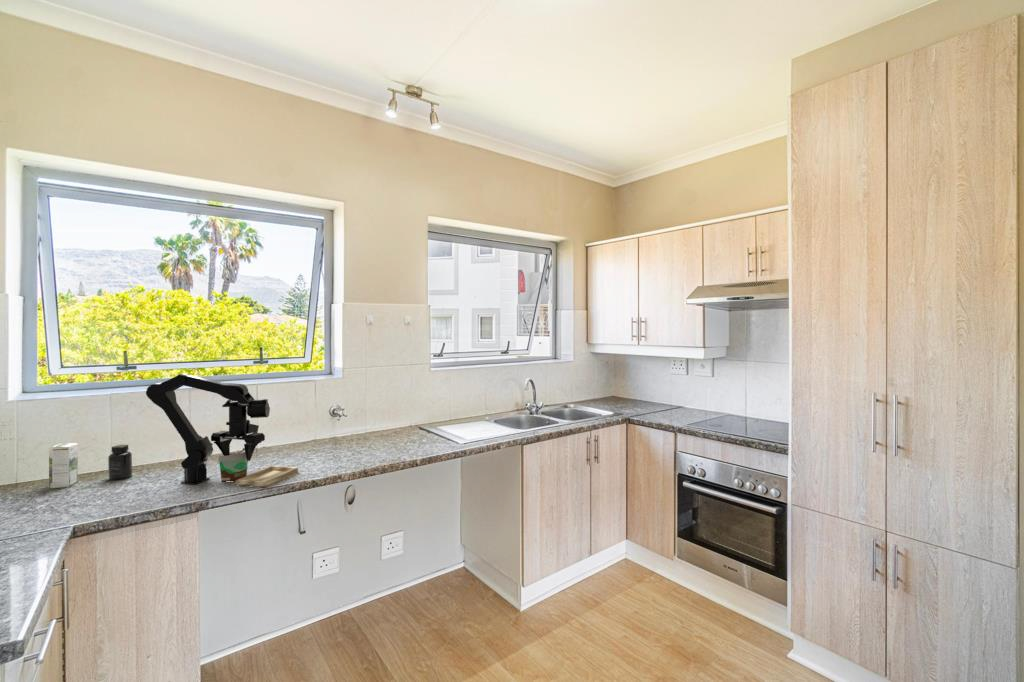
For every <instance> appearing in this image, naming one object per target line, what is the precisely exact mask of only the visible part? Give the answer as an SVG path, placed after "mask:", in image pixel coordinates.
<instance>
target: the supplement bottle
mask: <svg viewBox="0 0 1024 682" xmlns="http://www.w3.org/2000/svg"><path fill="white" fill-rule="evenodd" d="M110 452H111V453H110V454H109V455H108V458H107V460H108V463H107V464H108V465H107V466H108V468H107V469H108V479H109V480H110V481H119V480H120V481H121V480H125V479H129V478H131V477H132V476H133V453H132V452H130V451H129V444H117V445H113V446H111V451H110Z"/></svg>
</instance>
